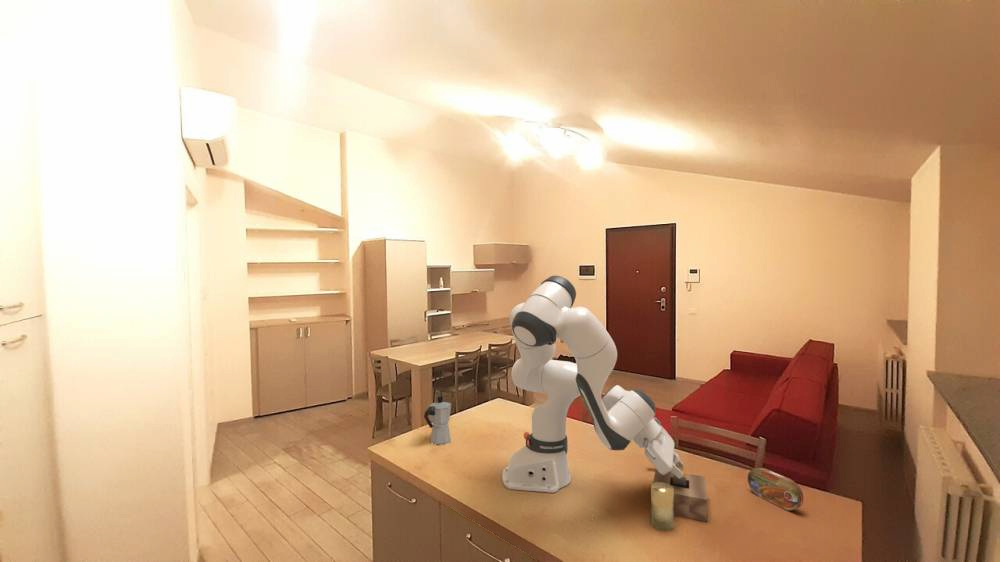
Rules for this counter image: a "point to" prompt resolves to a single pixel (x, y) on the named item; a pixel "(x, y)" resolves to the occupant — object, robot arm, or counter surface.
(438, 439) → the coffee maker
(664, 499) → the yellow candle
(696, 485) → the bore block
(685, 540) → the counter surface
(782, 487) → the tin
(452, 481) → the counter surface
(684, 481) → the square bit
